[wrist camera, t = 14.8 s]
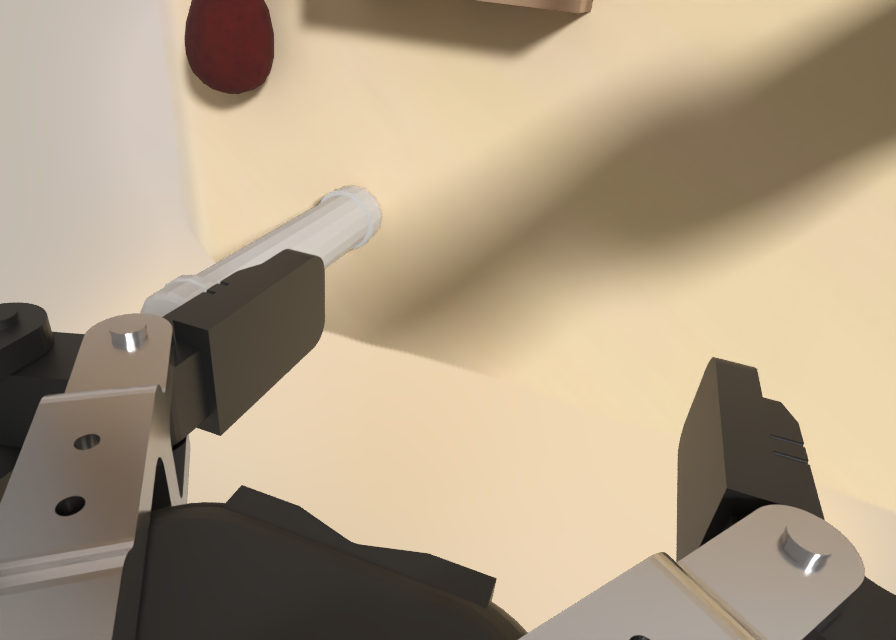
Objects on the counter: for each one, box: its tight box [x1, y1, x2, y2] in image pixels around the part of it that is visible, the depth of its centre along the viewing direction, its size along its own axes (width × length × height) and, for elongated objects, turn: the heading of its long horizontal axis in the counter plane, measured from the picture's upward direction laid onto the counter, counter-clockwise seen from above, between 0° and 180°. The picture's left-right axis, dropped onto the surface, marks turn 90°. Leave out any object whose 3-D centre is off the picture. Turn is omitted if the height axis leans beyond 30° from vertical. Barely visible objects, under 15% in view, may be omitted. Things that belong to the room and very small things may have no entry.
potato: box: [185, 0, 274, 94], centre depth 49 cm, size 8×9×6 cm
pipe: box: [141, 185, 382, 317], centre depth 44 cm, size 6×6×30 cm
